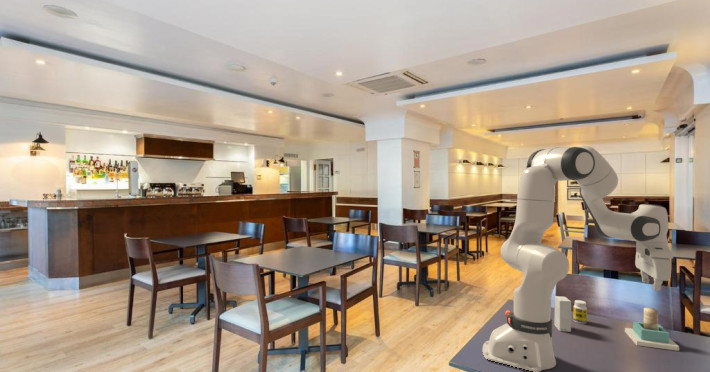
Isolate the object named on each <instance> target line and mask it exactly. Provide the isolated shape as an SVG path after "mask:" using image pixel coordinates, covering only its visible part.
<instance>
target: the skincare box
mask: <svg viewBox="0 0 710 372" xmlns="http://www.w3.org/2000/svg"><path fill="white" fill-rule="evenodd" d="M554 326H555V328H556V329H557V331H560V332H569V333H572V301H571V300H570V299H568V297H566V296H557V295H555V296H554Z"/></svg>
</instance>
